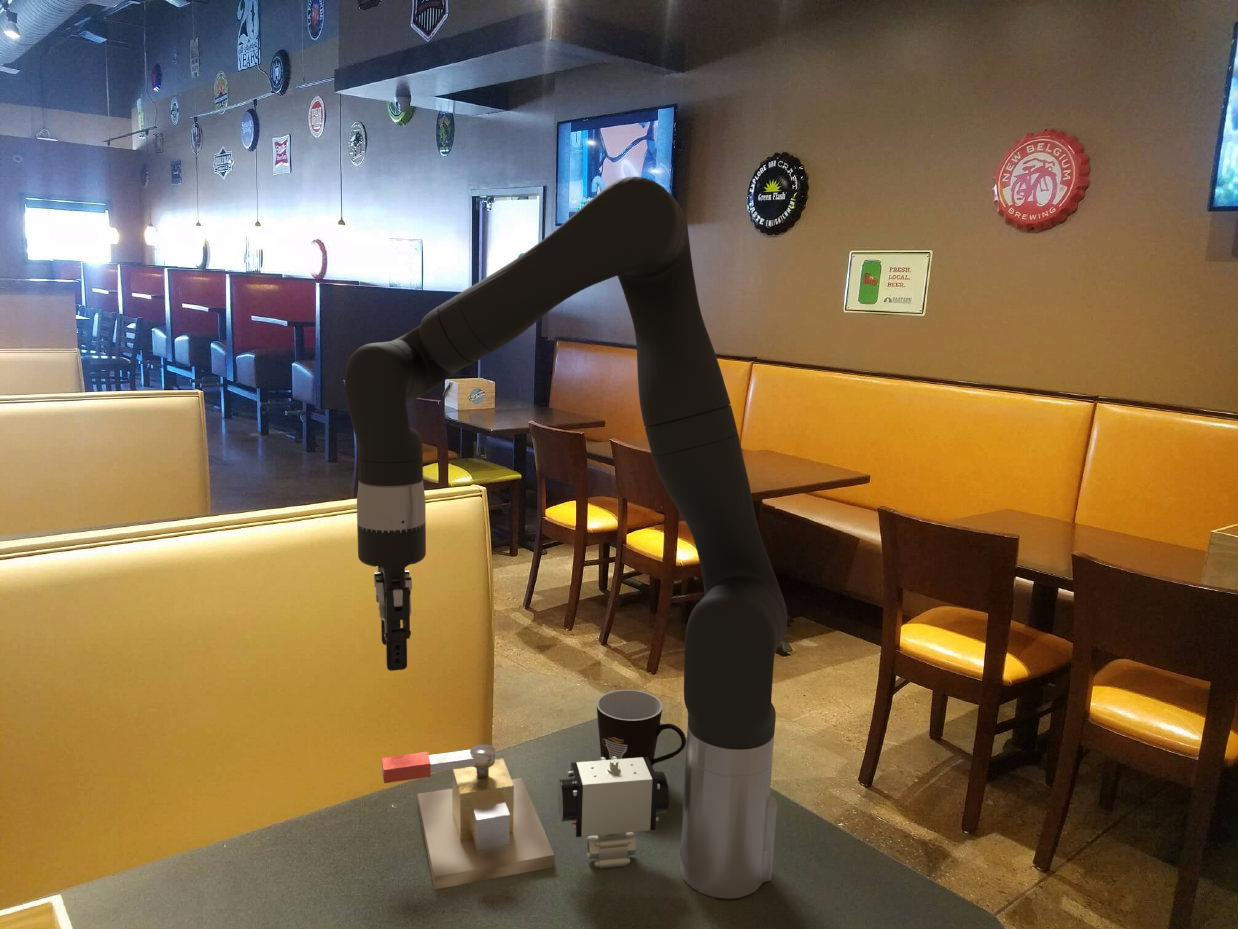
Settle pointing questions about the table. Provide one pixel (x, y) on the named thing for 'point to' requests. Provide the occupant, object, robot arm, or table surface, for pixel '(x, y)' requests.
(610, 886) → the table surface
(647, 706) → the coffee mug
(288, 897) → the table surface
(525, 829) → the mounting board
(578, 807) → the pneumatic valve
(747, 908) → the table surface
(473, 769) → the valve
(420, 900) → the table surface
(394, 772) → the lever
